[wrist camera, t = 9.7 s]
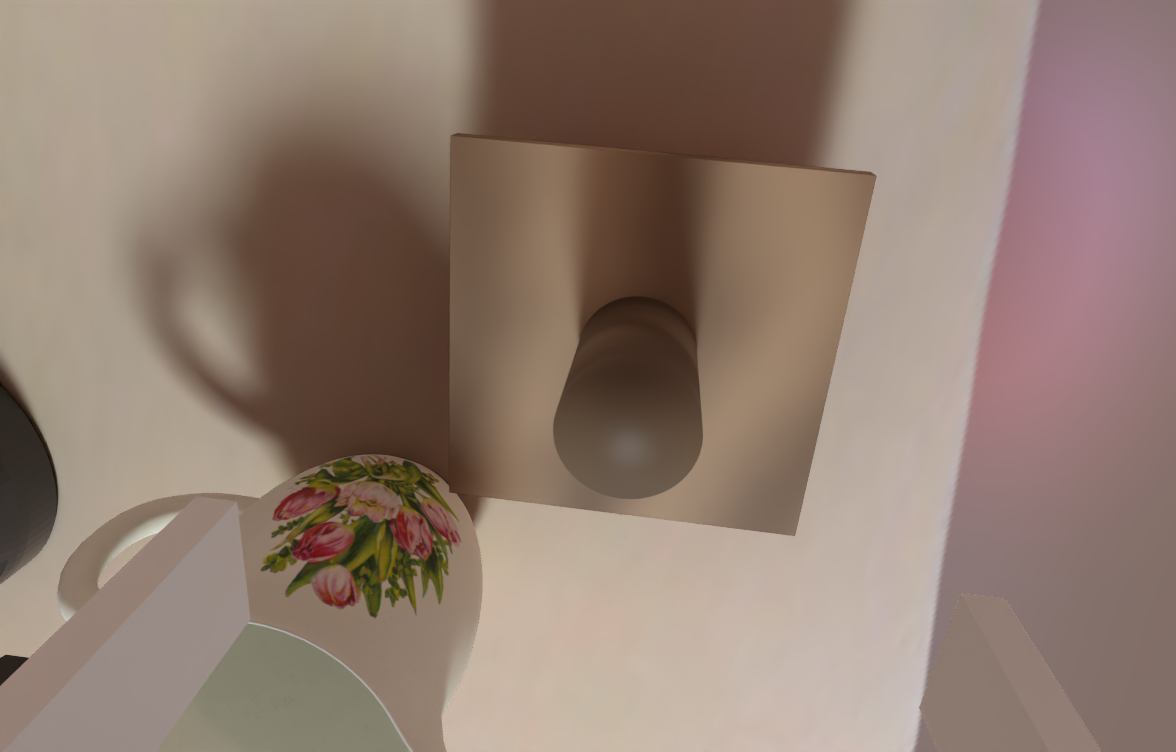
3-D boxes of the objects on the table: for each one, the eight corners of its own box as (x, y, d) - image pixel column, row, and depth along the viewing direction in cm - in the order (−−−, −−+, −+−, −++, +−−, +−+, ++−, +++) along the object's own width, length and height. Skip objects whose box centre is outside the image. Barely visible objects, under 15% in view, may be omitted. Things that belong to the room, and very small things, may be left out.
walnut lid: (454, 481, 29) (395, 596, 23) (457, 133, 24) (382, 161, 18) (791, 523, 29) (824, 654, 22) (870, 172, 23) (941, 215, 17)
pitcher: (210, 349, 34) (-62, 524, 21) (589, 478, 34) (540, 722, 22) (188, 538, 38) (-49, 775, 26) (523, 649, 39) (451, 934, 26)
